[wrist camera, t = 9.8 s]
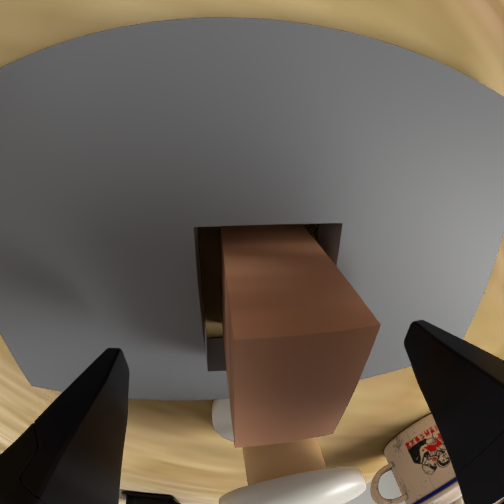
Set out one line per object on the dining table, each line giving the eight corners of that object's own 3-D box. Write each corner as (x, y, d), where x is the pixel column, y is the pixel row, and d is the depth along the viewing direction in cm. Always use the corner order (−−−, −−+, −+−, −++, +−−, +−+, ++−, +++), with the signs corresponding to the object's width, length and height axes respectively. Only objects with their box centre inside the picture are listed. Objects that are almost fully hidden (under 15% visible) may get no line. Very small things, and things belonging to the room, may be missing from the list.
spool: (216, 436, 17) (225, 527, 10) (206, 374, 14) (213, 504, 7) (316, 424, 17) (343, 507, 11) (338, 360, 14) (388, 469, 8)
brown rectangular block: (222, 323, 12) (234, 447, 7) (220, 224, 10) (234, 339, 5) (289, 319, 13) (332, 433, 7) (301, 223, 11) (381, 324, 5)
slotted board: (43, 360, 12) (31, 385, 10) (-23, 95, 6) (-52, 97, 4) (440, 330, 15) (457, 350, 13) (492, 103, 9) (520, 108, 7)
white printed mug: (461, 394, 21) (509, 470, 11) (434, 433, 25) (469, 497, 15) (364, 440, 21) (404, 540, 10) (351, 469, 25) (378, 546, 14)
